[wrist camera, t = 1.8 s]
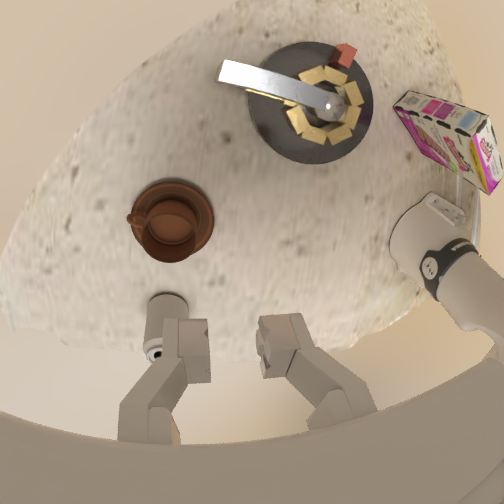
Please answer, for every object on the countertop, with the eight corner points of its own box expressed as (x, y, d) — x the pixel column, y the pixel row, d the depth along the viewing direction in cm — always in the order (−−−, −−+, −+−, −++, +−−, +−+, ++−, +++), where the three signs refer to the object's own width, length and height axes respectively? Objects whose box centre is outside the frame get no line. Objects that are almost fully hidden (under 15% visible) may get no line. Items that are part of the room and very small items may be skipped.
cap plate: (373, 60, 28) (398, 60, 23) (353, 166, 38) (374, 180, 33) (256, 31, 25) (266, 21, 20) (242, 155, 35) (249, 169, 30)
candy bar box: (390, 107, 33) (471, 137, 20) (407, 89, 31) (489, 112, 18) (421, 155, 38) (489, 198, 25) (436, 138, 36) (506, 175, 23)
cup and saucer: (137, 251, 41) (130, 276, 36) (130, 179, 34) (118, 197, 29) (211, 251, 43) (213, 276, 38) (215, 178, 36) (218, 196, 31)
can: (150, 287, 45) (142, 343, 35) (191, 294, 47) (192, 350, 38) (147, 315, 49) (141, 368, 39) (185, 321, 51) (186, 374, 41)
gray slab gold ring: (361, 85, 29) (403, 92, 21) (338, 148, 34) (373, 170, 26) (228, 37, 23) (237, 21, 16) (206, 112, 29) (206, 122, 21)
